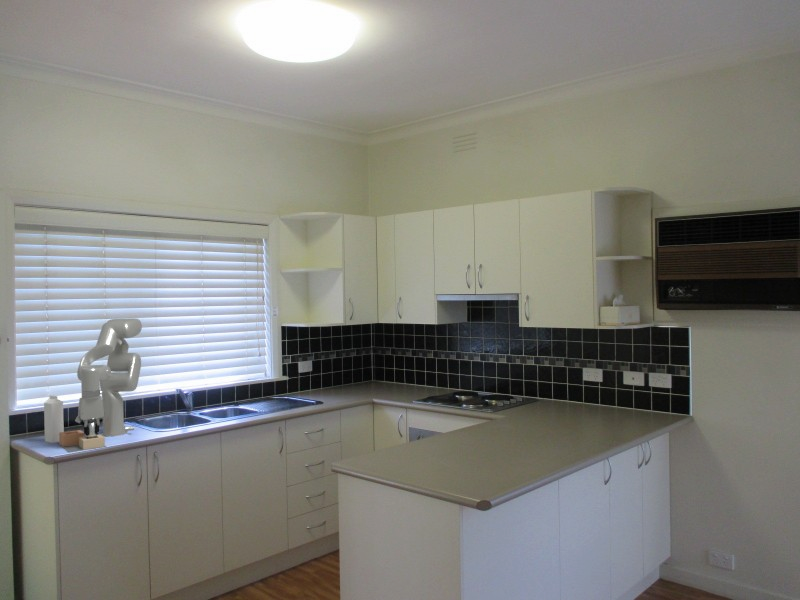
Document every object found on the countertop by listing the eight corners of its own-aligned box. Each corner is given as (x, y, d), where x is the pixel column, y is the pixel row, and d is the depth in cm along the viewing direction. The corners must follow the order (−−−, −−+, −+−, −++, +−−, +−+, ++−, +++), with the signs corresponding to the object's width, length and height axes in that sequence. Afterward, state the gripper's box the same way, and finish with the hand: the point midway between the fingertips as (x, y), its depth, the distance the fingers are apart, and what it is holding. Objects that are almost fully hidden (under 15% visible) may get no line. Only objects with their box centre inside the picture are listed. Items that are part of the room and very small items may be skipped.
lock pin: (95, 444, 304) (95, 416, 304) (98, 446, 301) (97, 417, 301) (85, 446, 302) (84, 417, 301) (87, 447, 298) (87, 419, 298)
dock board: (94, 440, 319) (94, 427, 318) (106, 449, 300) (106, 435, 299) (57, 445, 309) (57, 432, 309) (68, 455, 290) (67, 441, 290)
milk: (56, 439, 322) (55, 394, 322) (64, 440, 319) (63, 395, 319) (44, 442, 317) (43, 396, 316) (52, 443, 314) (51, 397, 314)
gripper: (107, 391, 309) (108, 430, 309) (69, 395, 299) (70, 435, 299) (112, 393, 303) (112, 433, 303) (72, 397, 293) (73, 438, 293)
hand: (91, 434), depth 301 cm, fingers closed on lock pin, 3 cm apart
